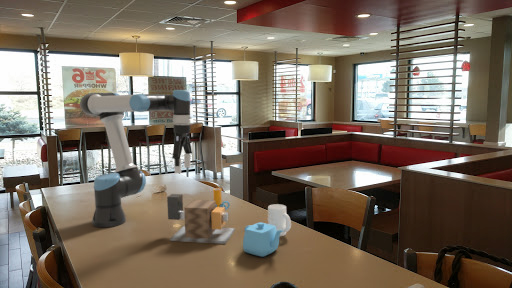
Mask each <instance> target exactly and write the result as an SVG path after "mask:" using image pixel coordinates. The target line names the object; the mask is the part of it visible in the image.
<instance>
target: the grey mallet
mask: <svg viewBox="0 0 512 288" xmlns="http://www.w3.org/2000/svg"><path fill="white" fill-rule="evenodd" d="M183 197H184V196H183V193H181V194H179V193H171V194H169V195H168V196H167V198H166V199H167V200H166V201H167V219H168V220H171V221H176V220H177V221H180V220H185V213H184V201H183V199H184V198H183ZM228 220H229V212H227V211H225V212H224V213H223V214H222V221H225V222H228ZM210 221H212V219H211V212H210Z"/></svg>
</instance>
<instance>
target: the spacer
mask: <svg viewBox="0 0 512 288" xmlns="http://www.w3.org/2000/svg"><path fill="white" fill-rule="evenodd" d="M224 212H226V211H225V207H224V206H223V207H216V208H215V209H214V210H213V211H212V212H211V219H212V229H220V230H221V229H222V228H224V226H225V225H226V221H222V214H223V213H224Z"/></svg>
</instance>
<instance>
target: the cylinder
mask: <svg viewBox="0 0 512 288" xmlns="http://www.w3.org/2000/svg"><path fill="white" fill-rule="evenodd" d="M212 192H213V193H212V194H213V195H212V196H213V197H212V198H213V200H210V201H215V203H216V207H225V212H227V211H226V210H227V209H229V208H230V201H227V200H224V201H223V198H222V197H223V196H222V188H219V187H216V188H213V189H212ZM226 204H227V206H226Z"/></svg>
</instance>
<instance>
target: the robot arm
mask: <svg viewBox="0 0 512 288" xmlns="http://www.w3.org/2000/svg"><path fill="white" fill-rule="evenodd" d="M79 107H80V109H81V111H82V112H83V113H84V114H85V115H87V116H90V117H99V121H100V122H101V123H103V124H104V127H105V131H106V134H107V138H108V141H109V145H110V150H111V152H112V157H113V160H114V164H115V170H114V172H109V173H103V174H100V175H97V176H96V177H95V178H94V181H93V189H94V204H95V206H94V207H95V209H94V213H93V216H92V221H91V222H92V225H93V227H96V228H109V227H110V228H111V227H117V226H119V225H122V224H124V223H125V222H126V221H127V218H126V213H125V212H124V211H125V210H124V209H123V206H122V199H123V198H126V197H129V196H133V195H136V194H139V193H141V192H142V191H144V190H145V187H146V185H147V178H146V174H145V173H144V172H143V171H142V170H139V168H138V165H136V164H134V161H133V155H132V153H131V150H130V146H129V142H128V139H127V135H126V131H125V127H124V124H123V118H124V116H125V115H124V113H127V112H129V113H130V112H135V113H137V112H138V113H143V112H144V113H145V112H163V111H164V112H165V111H168V112H170V111H171V112H173V116H172V117H173V118H172V119H173V133H175V134H176V135H175V136H174V144H173V151H172V156H171V157H172V159H173V160H174V174H182V158H181V157H182V151H184V153H183V154H184V155H183V156H184V159H183V161H184V164H183V165H184V168H191V154H193V151H192V145H191V138H190V134H191V125H190V124H191V120H192V117H191V93H190V91H189V89H188V90H187V89H174V90H173V91H172V94H170V93H169V94H167V93H165V94H164V93H154V94H151V93H150V94H149V93H148V94H146V93H145V94H144V93H136V94H119V93H115V92H89V93H85V94H84V95H83V96H82V97H81V98H80V101H79Z"/></svg>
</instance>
